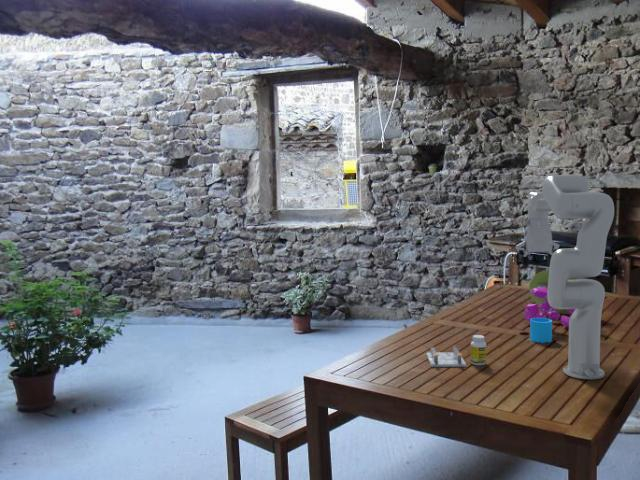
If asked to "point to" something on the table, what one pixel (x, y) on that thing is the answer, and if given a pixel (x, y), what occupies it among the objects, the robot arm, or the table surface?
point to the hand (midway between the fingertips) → (537, 266)
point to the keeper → (446, 358)
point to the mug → (541, 330)
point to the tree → (544, 300)
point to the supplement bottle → (478, 350)
